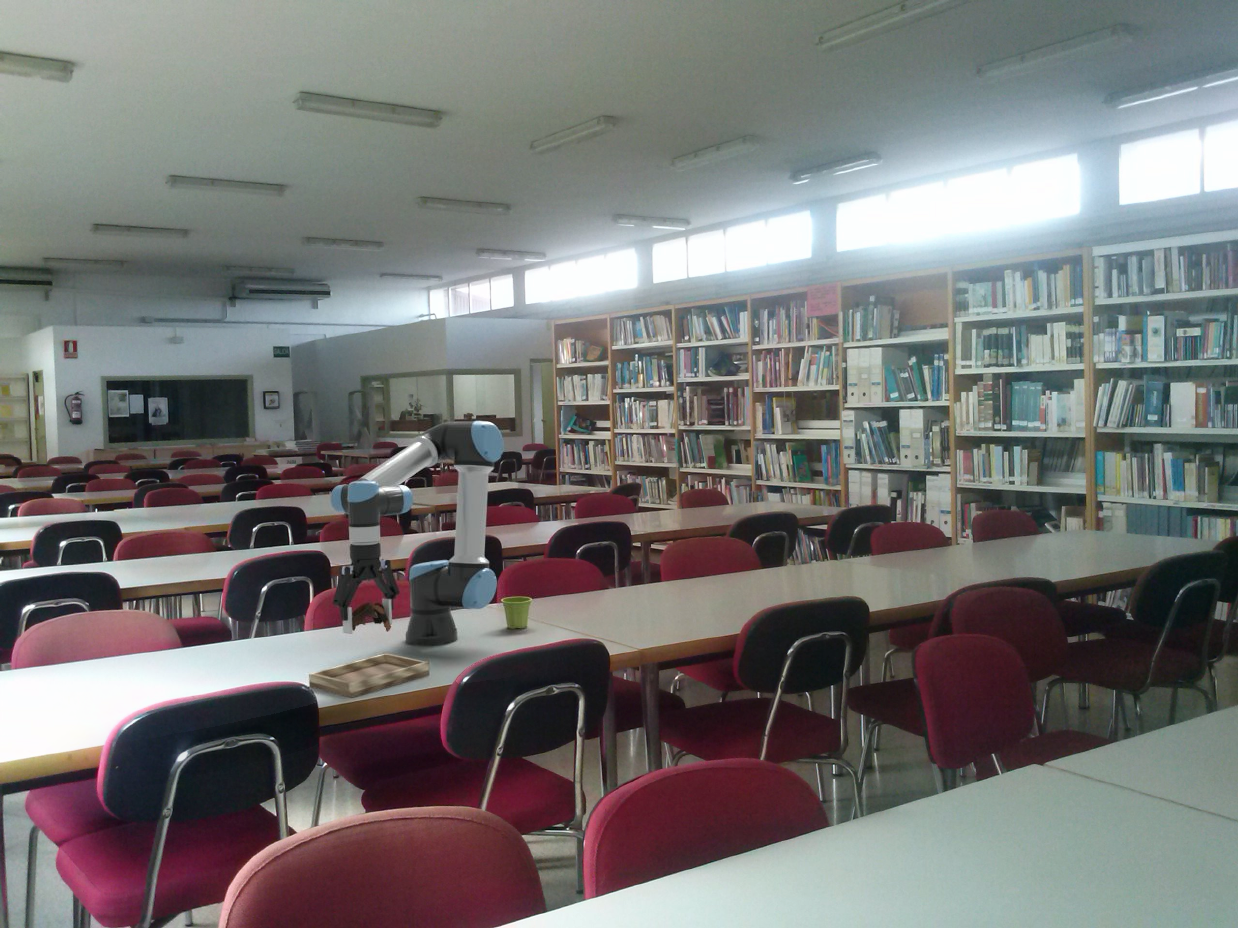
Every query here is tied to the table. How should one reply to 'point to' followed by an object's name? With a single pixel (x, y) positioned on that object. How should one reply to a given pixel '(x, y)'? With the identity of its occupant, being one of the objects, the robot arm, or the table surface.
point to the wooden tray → (368, 674)
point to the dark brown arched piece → (370, 615)
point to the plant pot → (516, 611)
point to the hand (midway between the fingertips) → (368, 628)
